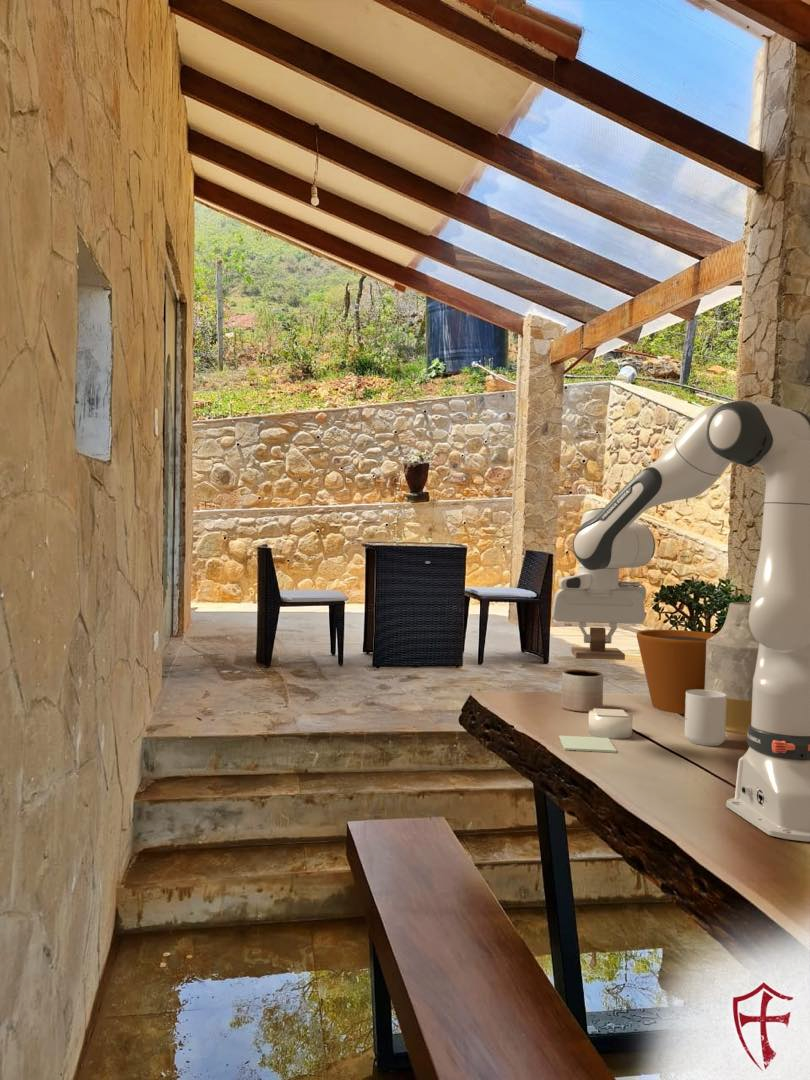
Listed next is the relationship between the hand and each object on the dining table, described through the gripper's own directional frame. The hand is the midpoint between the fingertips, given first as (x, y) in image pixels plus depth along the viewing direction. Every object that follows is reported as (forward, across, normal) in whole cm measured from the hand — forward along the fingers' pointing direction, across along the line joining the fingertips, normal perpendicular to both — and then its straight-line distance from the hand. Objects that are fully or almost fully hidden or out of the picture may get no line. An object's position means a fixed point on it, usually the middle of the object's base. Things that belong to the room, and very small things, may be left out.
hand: (597, 642), depth 190 cm
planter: (+22, -1, -37) cm, 43 cm away
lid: (+3, 0, 0) cm, 3 cm away
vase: (+23, -39, -26) cm, 52 cm away
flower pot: (+23, -28, -43) cm, 56 cm away
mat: (+22, +2, +2) cm, 23 cm away
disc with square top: (+22, -5, -10) cm, 25 cm away
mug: (+23, -26, -8) cm, 35 cm away
